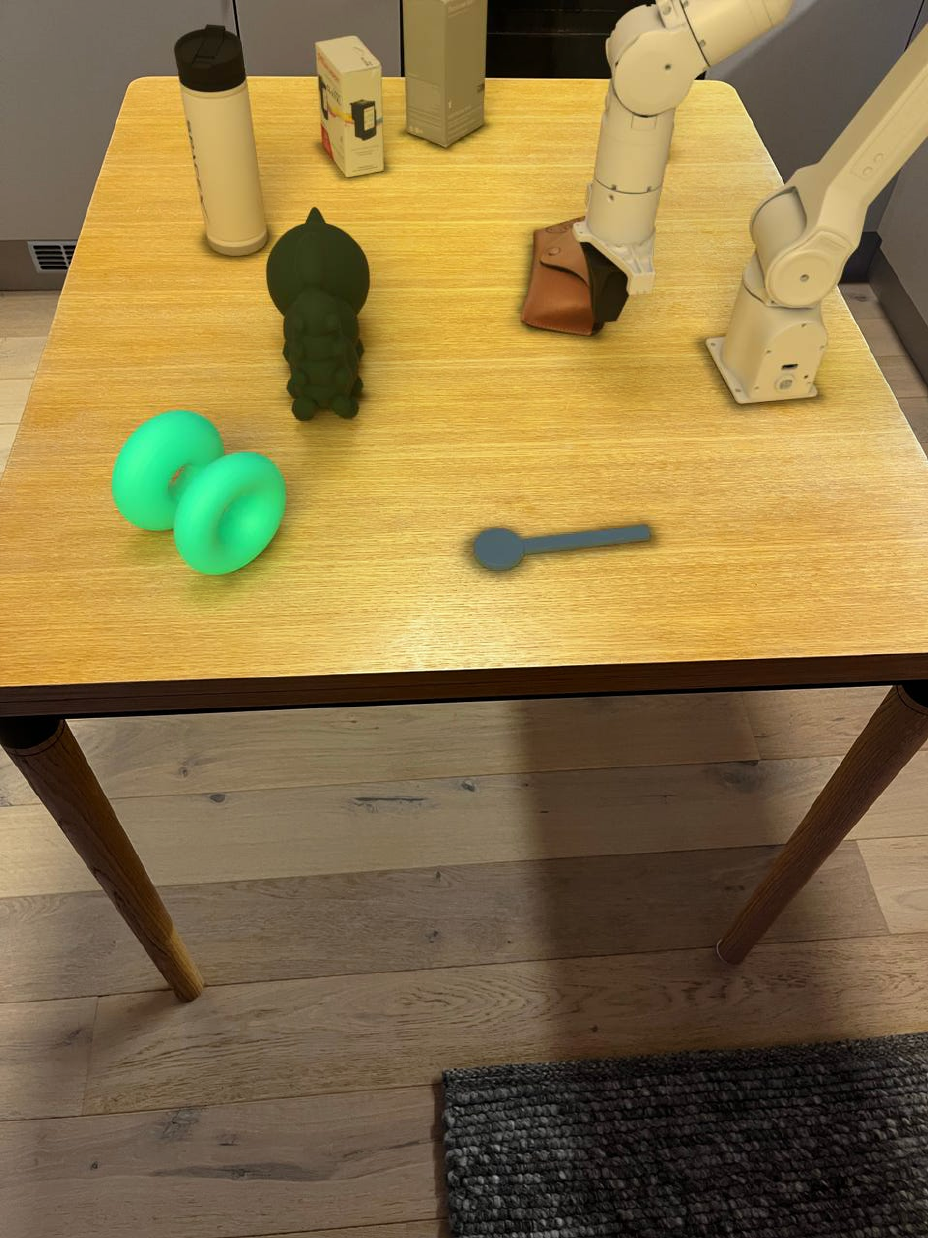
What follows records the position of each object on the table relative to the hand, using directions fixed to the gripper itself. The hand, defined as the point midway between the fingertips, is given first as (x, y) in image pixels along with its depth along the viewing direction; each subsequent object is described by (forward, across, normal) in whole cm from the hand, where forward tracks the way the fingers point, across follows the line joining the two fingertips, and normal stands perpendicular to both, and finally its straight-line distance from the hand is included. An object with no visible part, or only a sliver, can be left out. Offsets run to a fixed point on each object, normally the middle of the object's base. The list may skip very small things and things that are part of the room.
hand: (604, 317), depth 93 cm
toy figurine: (+5, -2, -26) cm, 27 cm away
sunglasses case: (+5, -13, 0) cm, 14 cm away
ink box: (+5, -41, -19) cm, 45 cm away
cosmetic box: (+5, -47, -7) cm, 48 cm away
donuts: (+5, +18, -37) cm, 41 cm away
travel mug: (+5, -25, -33) cm, 42 cm away
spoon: (+5, +23, -10) cm, 26 cm away
